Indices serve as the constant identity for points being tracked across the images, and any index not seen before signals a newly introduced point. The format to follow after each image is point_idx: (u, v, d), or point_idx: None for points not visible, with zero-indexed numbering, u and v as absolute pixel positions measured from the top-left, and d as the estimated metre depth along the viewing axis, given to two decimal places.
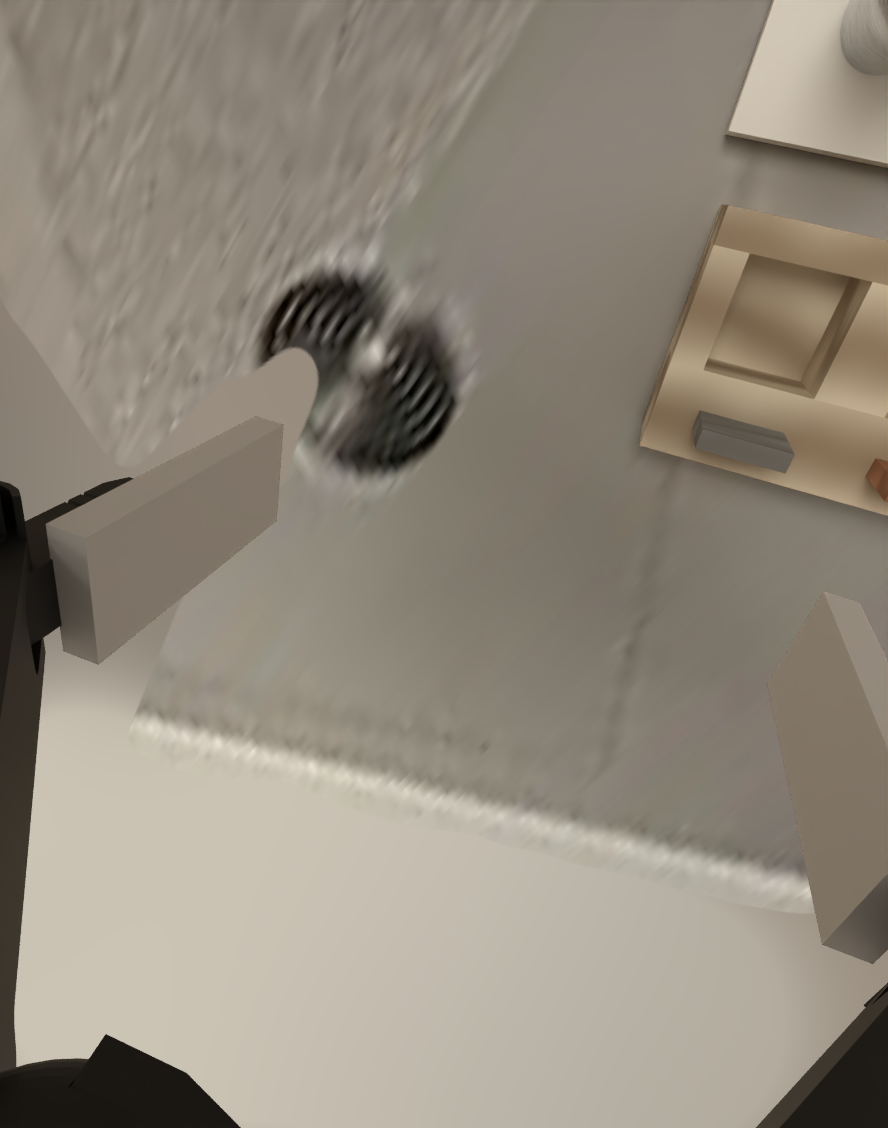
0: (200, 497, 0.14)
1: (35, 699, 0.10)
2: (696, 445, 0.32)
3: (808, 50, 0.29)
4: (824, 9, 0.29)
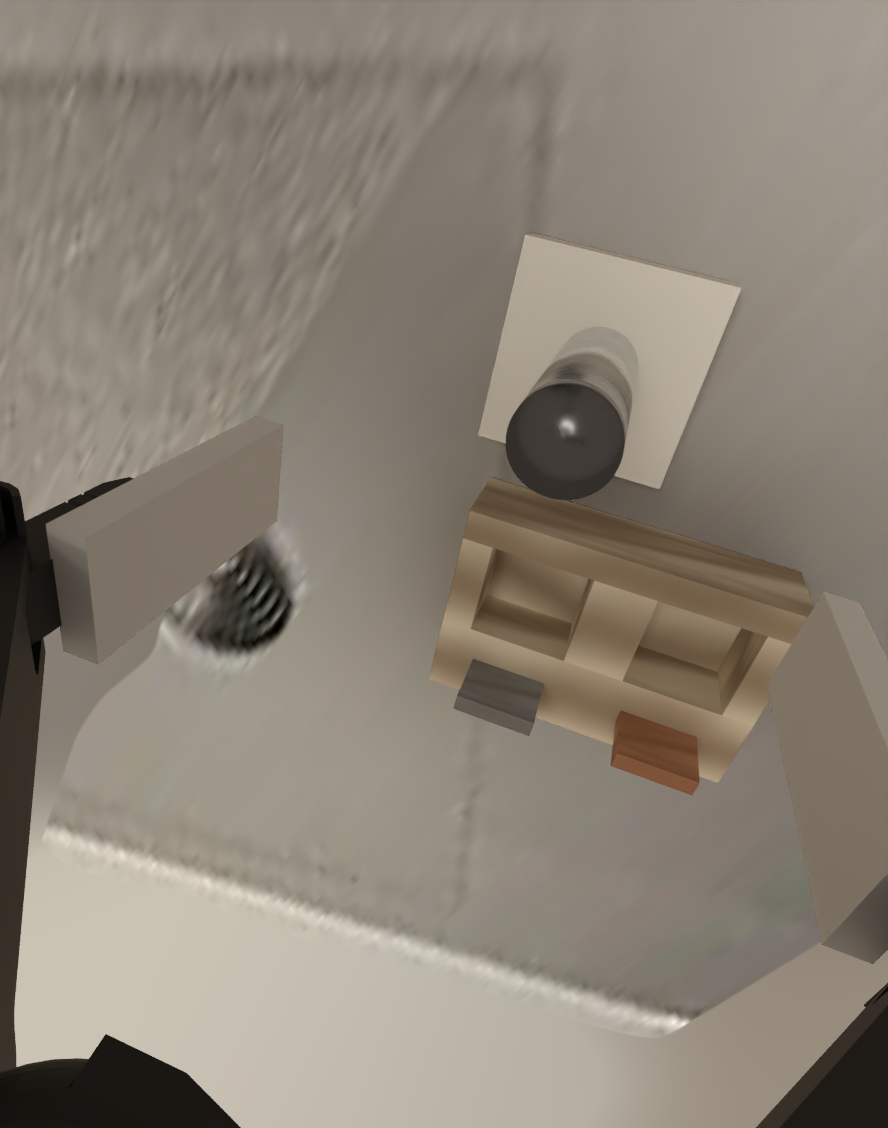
0: (200, 497, 0.14)
1: (35, 699, 0.10)
2: (454, 706, 0.37)
3: (532, 384, 0.34)
4: (540, 356, 0.33)
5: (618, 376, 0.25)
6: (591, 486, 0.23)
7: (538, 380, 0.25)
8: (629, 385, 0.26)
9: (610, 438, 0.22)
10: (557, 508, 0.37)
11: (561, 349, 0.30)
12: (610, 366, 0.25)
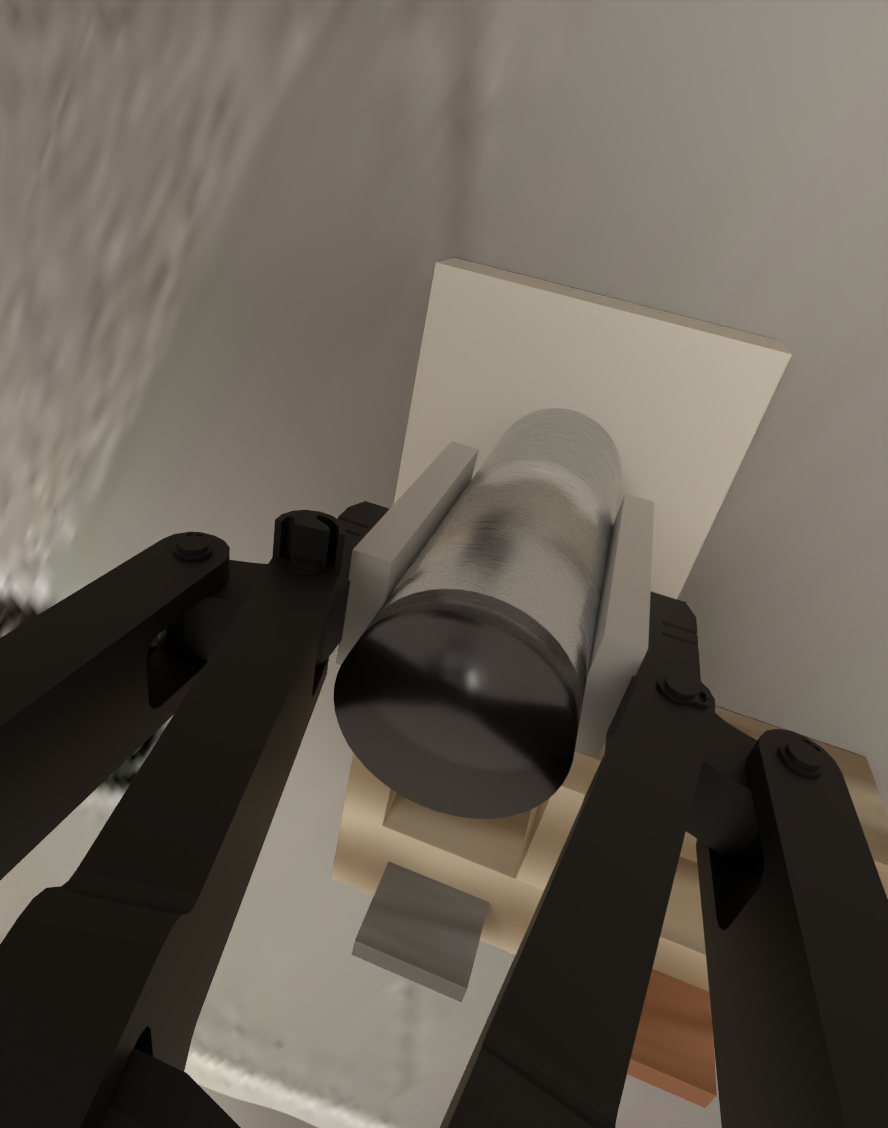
0: (436, 520, 0.15)
1: (304, 719, 0.11)
2: (353, 951, 0.25)
3: None
4: None
5: (575, 542, 0.13)
6: (510, 803, 0.11)
7: (424, 548, 0.13)
8: (598, 545, 0.14)
9: (545, 729, 0.10)
10: None
11: (492, 453, 0.18)
12: (561, 520, 0.13)
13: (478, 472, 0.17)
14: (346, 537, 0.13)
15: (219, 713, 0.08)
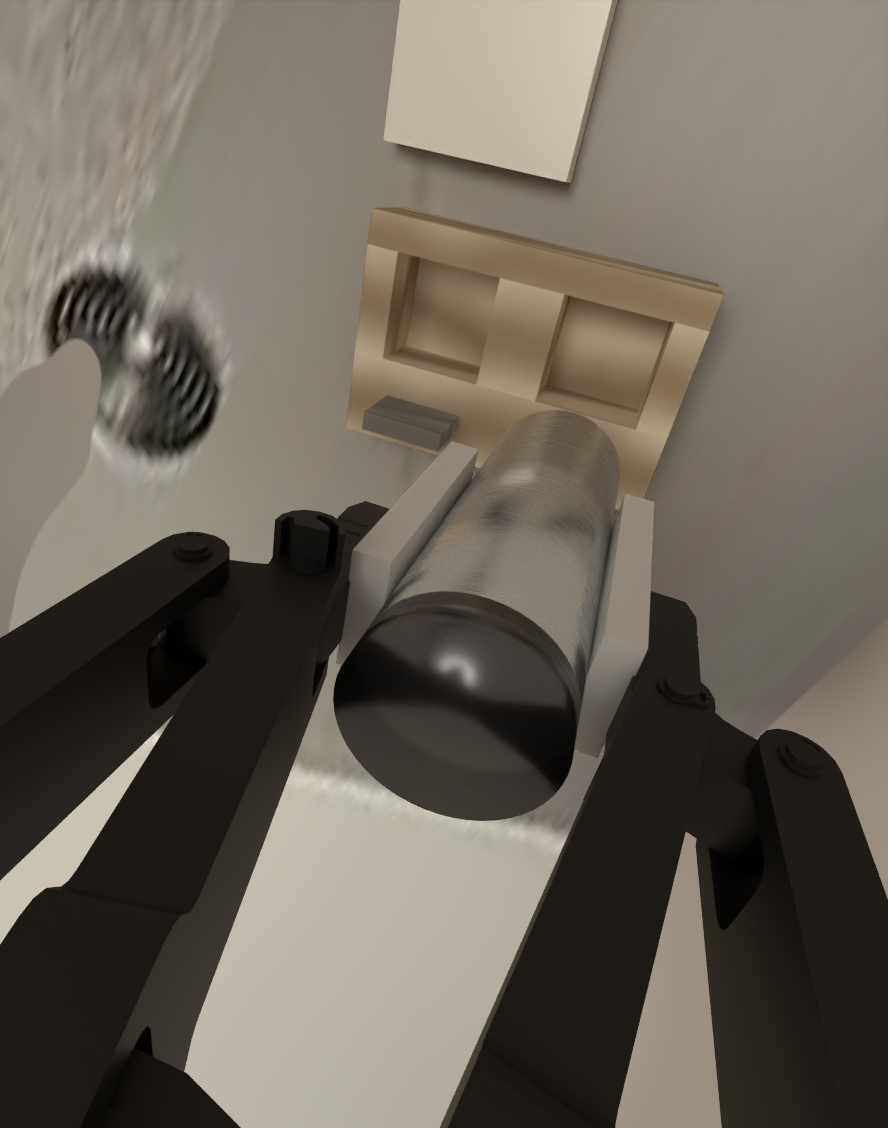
0: (436, 520, 0.15)
1: (304, 719, 0.11)
2: (362, 426, 0.36)
3: (433, 69, 0.33)
4: (438, 32, 0.32)
5: (574, 544, 0.13)
6: (510, 805, 0.11)
7: (423, 550, 0.13)
8: (598, 547, 0.14)
9: (544, 731, 0.10)
10: (468, 225, 0.36)
11: (491, 455, 0.18)
12: (560, 522, 0.13)
13: (477, 474, 0.17)
14: (346, 537, 0.13)
15: (219, 713, 0.08)
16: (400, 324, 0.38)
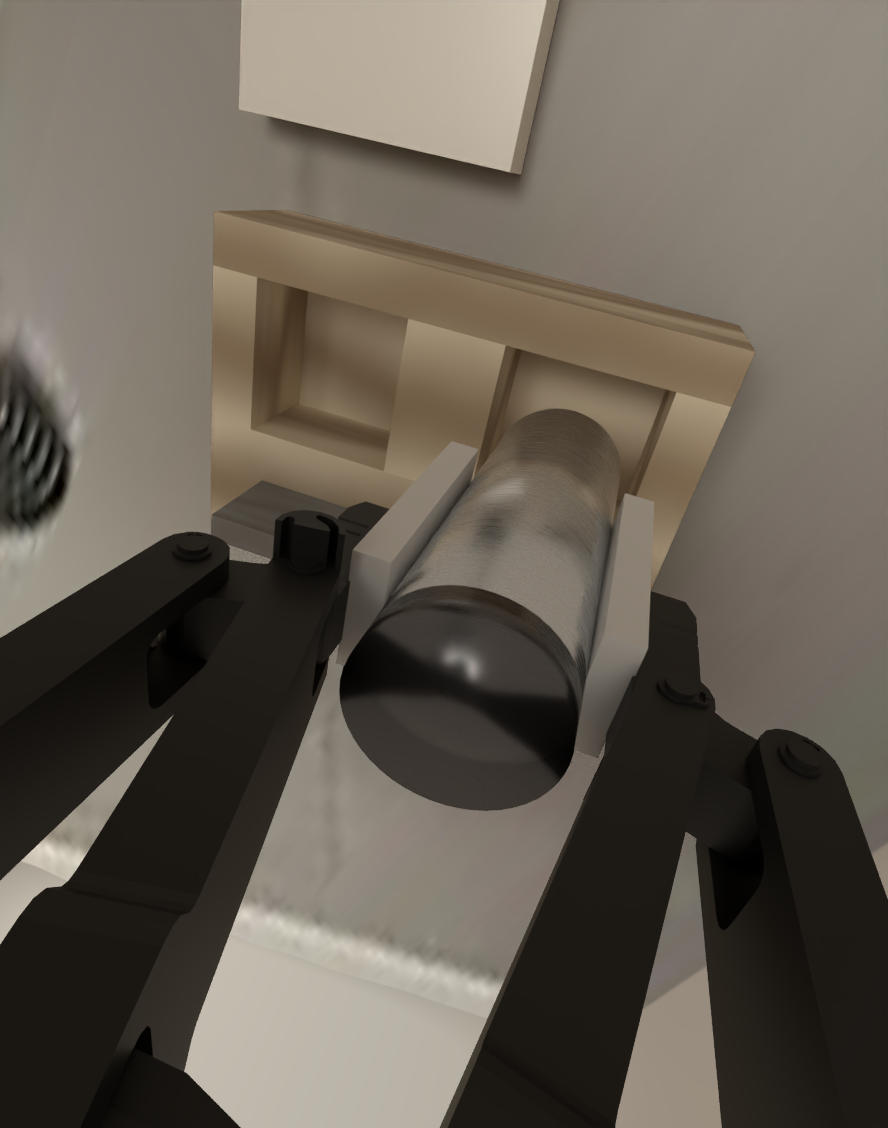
0: (436, 520, 0.15)
1: (304, 719, 0.11)
2: (212, 534, 0.24)
3: None
4: None
5: (575, 540, 0.13)
6: (512, 795, 0.11)
7: (427, 546, 0.13)
8: (598, 543, 0.15)
9: (546, 721, 0.10)
10: (371, 237, 0.24)
11: (493, 452, 0.18)
12: (562, 518, 0.14)
13: (480, 471, 0.17)
14: (346, 537, 0.13)
15: (219, 713, 0.08)
16: (281, 378, 0.27)
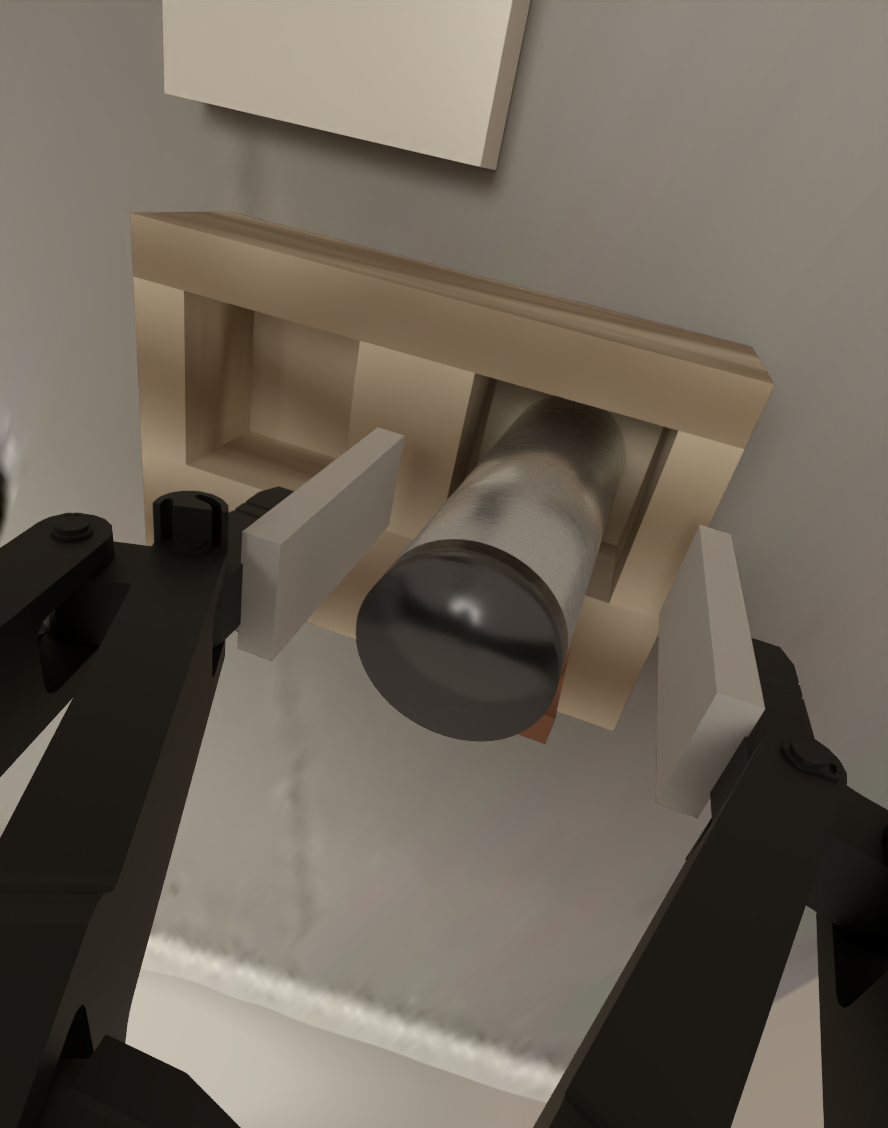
0: (348, 505, 0.14)
1: (207, 701, 0.11)
2: None
3: None
4: None
5: (571, 508, 0.15)
6: (505, 726, 0.13)
7: None
8: (594, 513, 0.16)
9: (533, 657, 0.12)
10: (323, 242, 0.21)
11: (504, 433, 0.20)
12: (559, 489, 0.15)
13: (490, 450, 0.19)
14: (249, 521, 0.13)
15: (117, 700, 0.08)
16: (224, 404, 0.23)
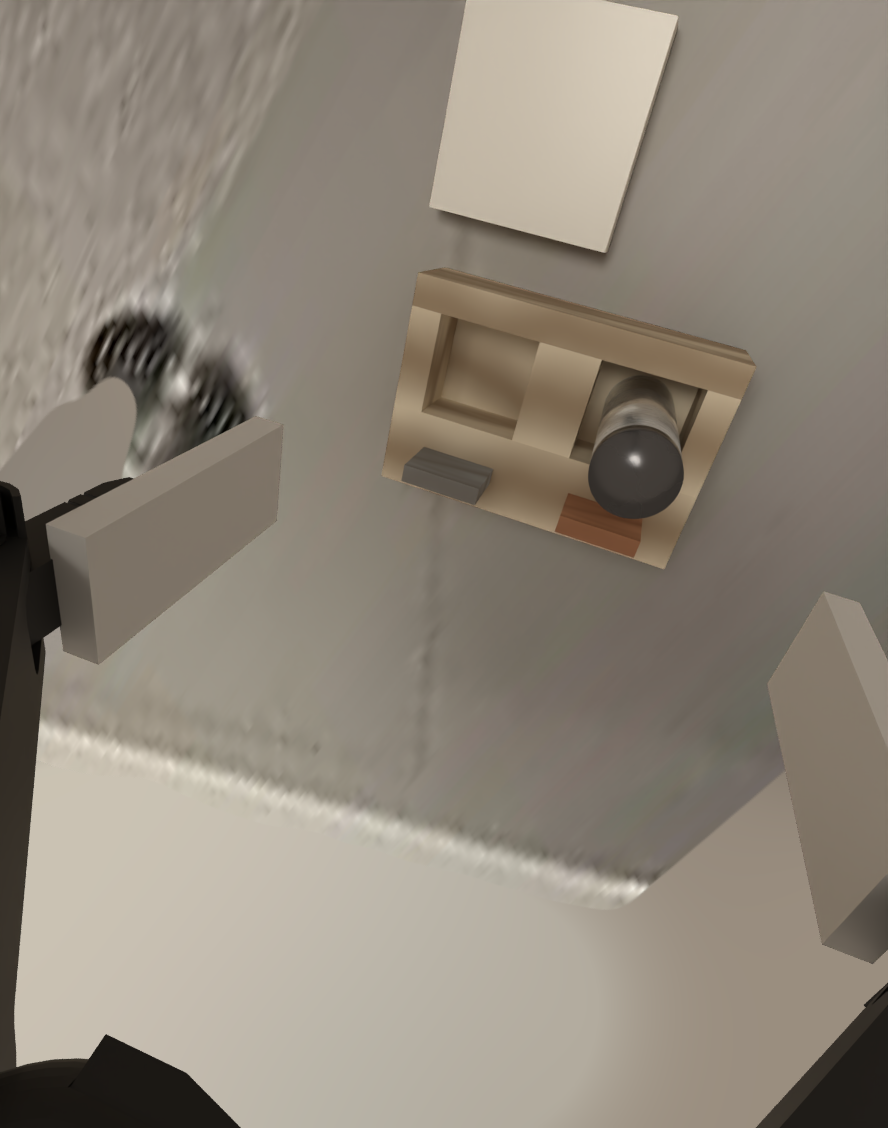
0: (200, 497, 0.14)
1: (35, 699, 0.10)
2: (402, 478, 0.37)
3: (481, 144, 0.34)
4: (487, 110, 0.34)
5: (671, 421, 0.31)
6: (655, 508, 0.29)
7: (607, 422, 0.31)
8: (677, 427, 0.32)
9: (673, 472, 0.28)
10: (507, 288, 0.38)
11: (614, 394, 0.36)
12: (664, 413, 0.32)
13: (613, 401, 0.35)
14: None
15: None
16: (438, 378, 0.40)
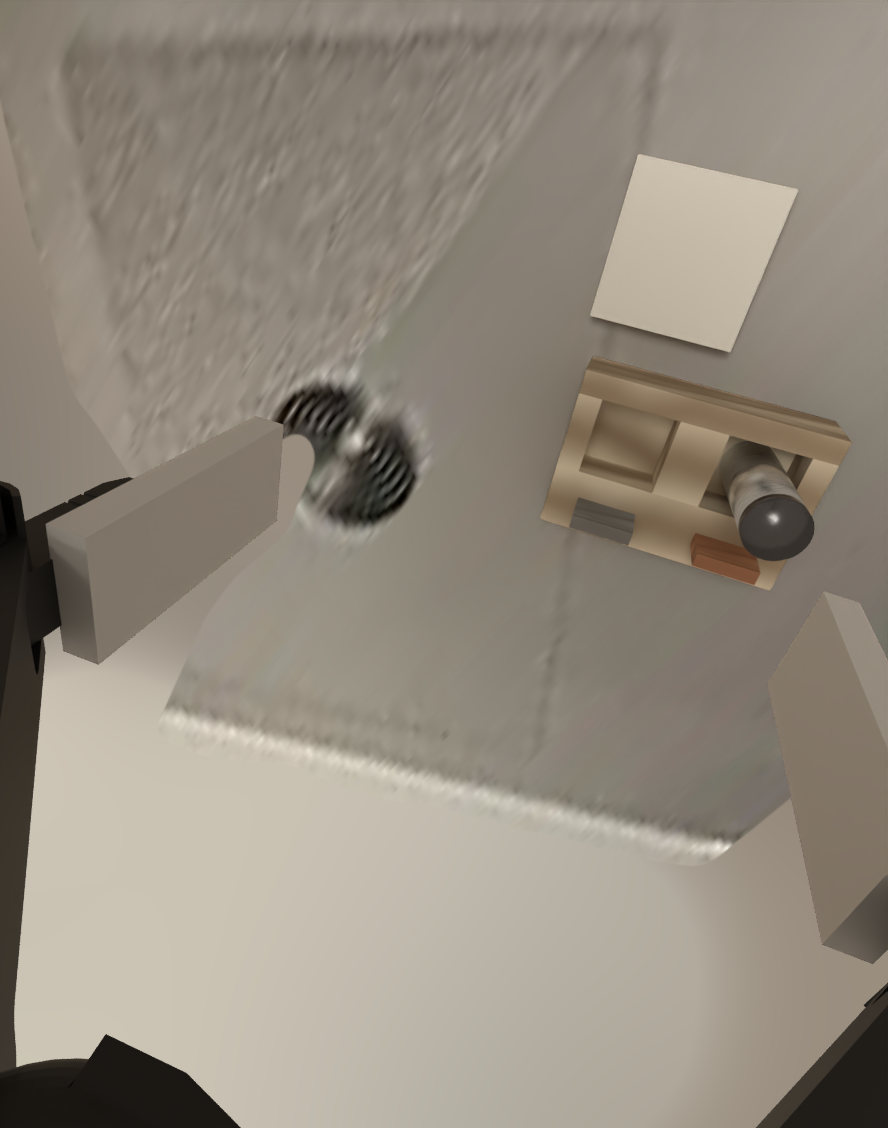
0: (200, 498, 0.14)
1: (35, 699, 0.10)
2: (569, 525, 0.48)
3: (636, 272, 0.45)
4: (643, 249, 0.44)
5: None
6: (789, 554, 0.40)
7: (747, 487, 0.42)
8: None
9: (806, 529, 0.39)
10: (647, 374, 0.48)
11: (737, 457, 0.47)
12: (788, 479, 0.42)
13: (739, 464, 0.46)
14: None
15: None
16: None
